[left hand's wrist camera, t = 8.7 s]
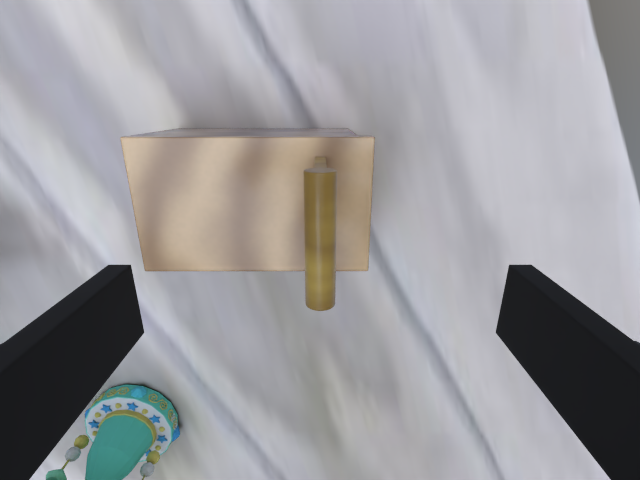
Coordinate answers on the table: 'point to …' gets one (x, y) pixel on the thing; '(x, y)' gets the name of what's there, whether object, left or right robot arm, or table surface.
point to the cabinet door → (254, 205)
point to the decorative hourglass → (124, 433)
